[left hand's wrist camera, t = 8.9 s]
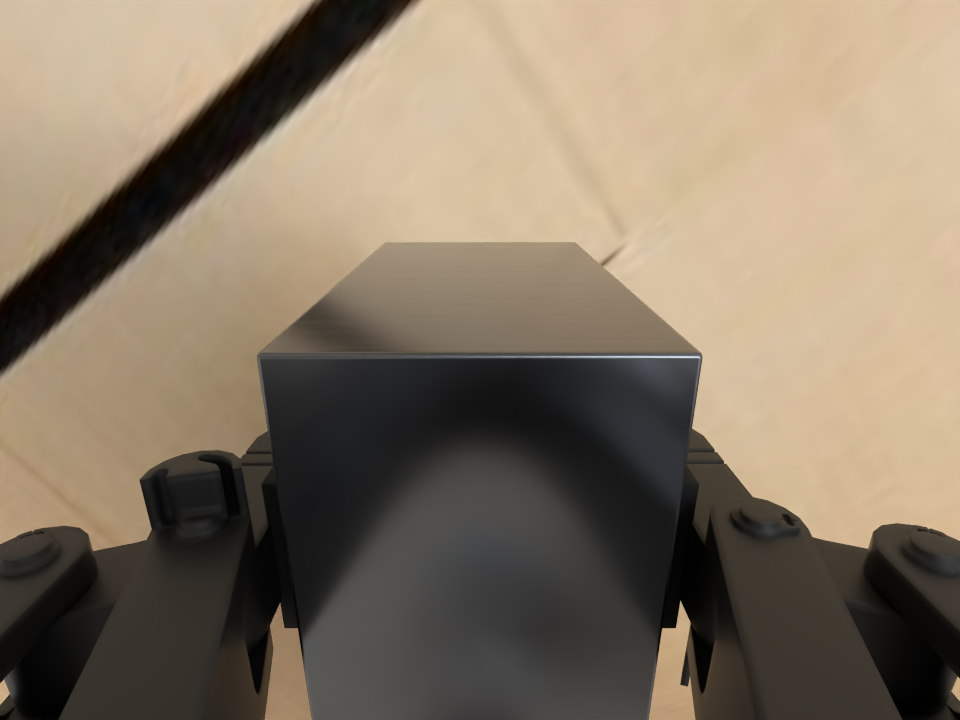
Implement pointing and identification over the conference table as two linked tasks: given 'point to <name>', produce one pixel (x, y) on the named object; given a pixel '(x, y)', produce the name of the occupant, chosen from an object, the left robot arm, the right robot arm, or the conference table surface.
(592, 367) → the bar
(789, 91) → the conference table surface
